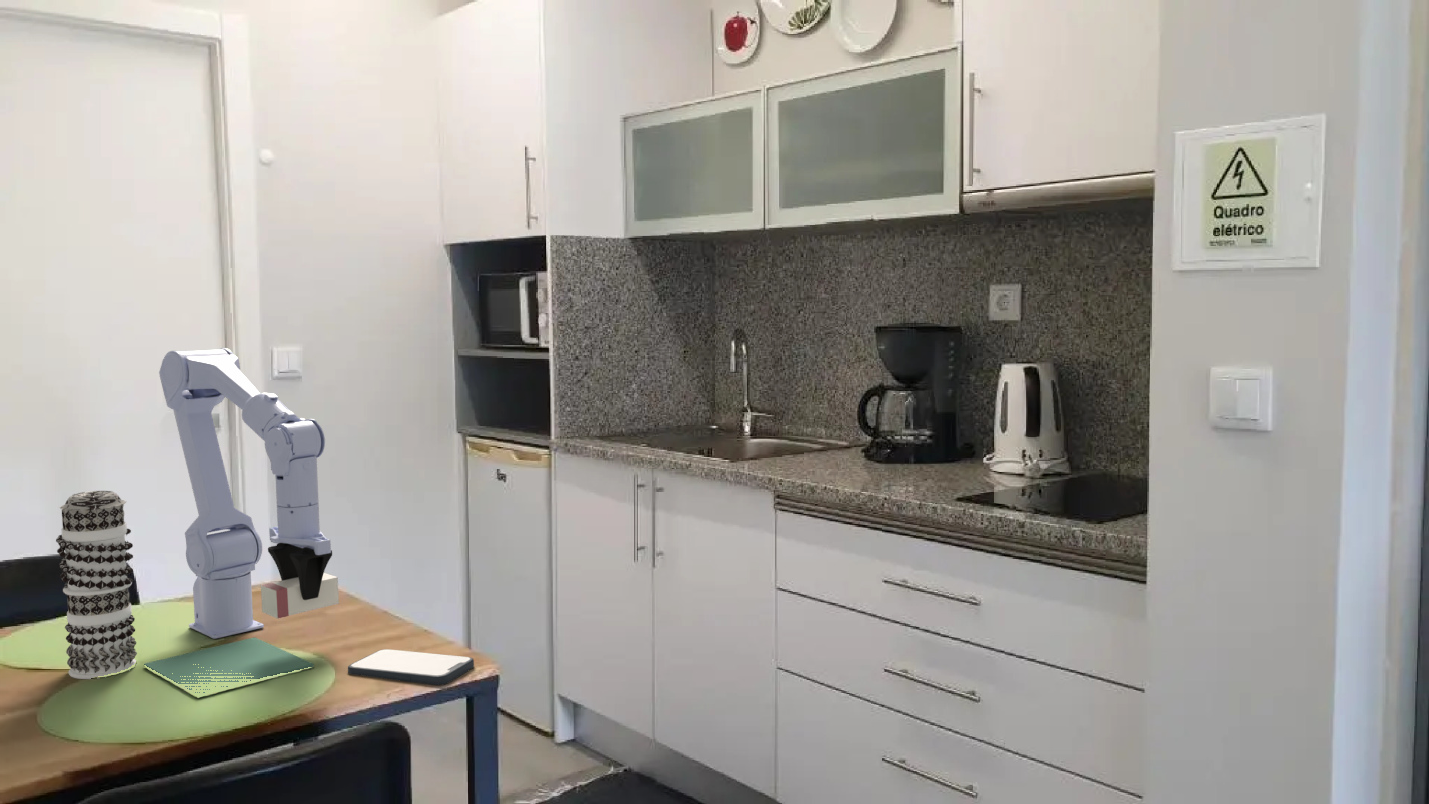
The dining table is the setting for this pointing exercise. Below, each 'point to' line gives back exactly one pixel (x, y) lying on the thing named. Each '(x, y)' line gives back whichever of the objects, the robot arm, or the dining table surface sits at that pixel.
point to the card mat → (229, 662)
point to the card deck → (297, 597)
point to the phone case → (412, 666)
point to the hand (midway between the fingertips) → (301, 595)
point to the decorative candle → (96, 584)
